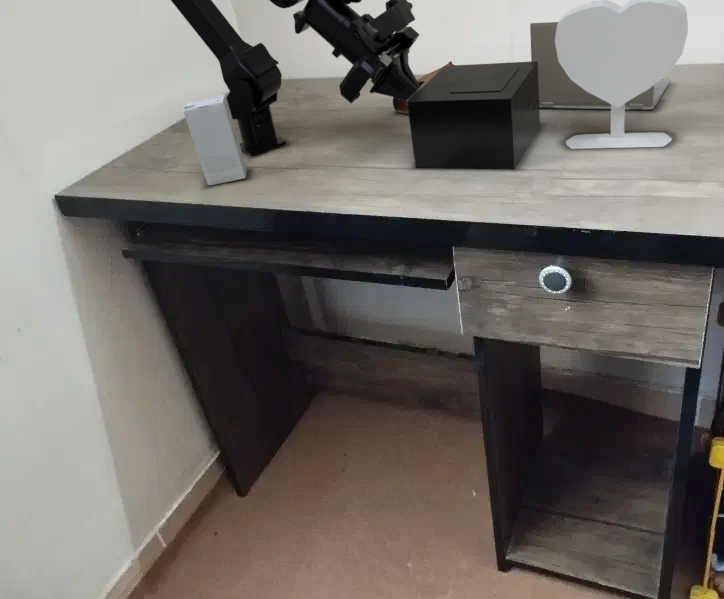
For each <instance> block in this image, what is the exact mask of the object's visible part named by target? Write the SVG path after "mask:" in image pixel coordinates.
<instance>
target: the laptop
mask: <svg viewBox="0 0 724 599" xmlns="http://www.w3.org/2000/svg"><path fill="white" fill-rule="evenodd" d="M558 22H559V21H551V22H549V21H547V22H531V23H530V25H529V30H530V59H531V60H530V62H533V61H538V82H539V109H542V108H551V109H552V108H553V109H580V110H581V109H583V110H611V104H609V103H608V102H606V101H604V100H602V99H600V98H598V97H596V96H594V95H592V94H591V93H589V92H587V91H586V90H584V89H583V88H581V87H580V86H579V85H577V84H576V83H575V82H573V81H572V80H571V79H570V78H569V76H568V75H567V73H566V72H565V70H564V69H563V68H562V66H561V65H560V63H559V62H558V56H557V51H556V46H555V36H556V29H557V24H558ZM670 83H671V79H670V78H662V79H661V80H660V81H658V82H657V83H656V84H655V85H653V86H652V87H651V88H649V89H648V90H646V91H644V92H643V93H641V94H639V95H638V96H636V97H634V98H633V99H631V100H629V101H627V102H626V103H625V111H626V110H629V111H630V110H643V111H648V110H654V108H655V107H656V105H657V104H658V102H659V101H660V99H661V97H662V96H663V94H664V93H665V91H666V90H667V87H668V86H669V85H670Z"/></svg>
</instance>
